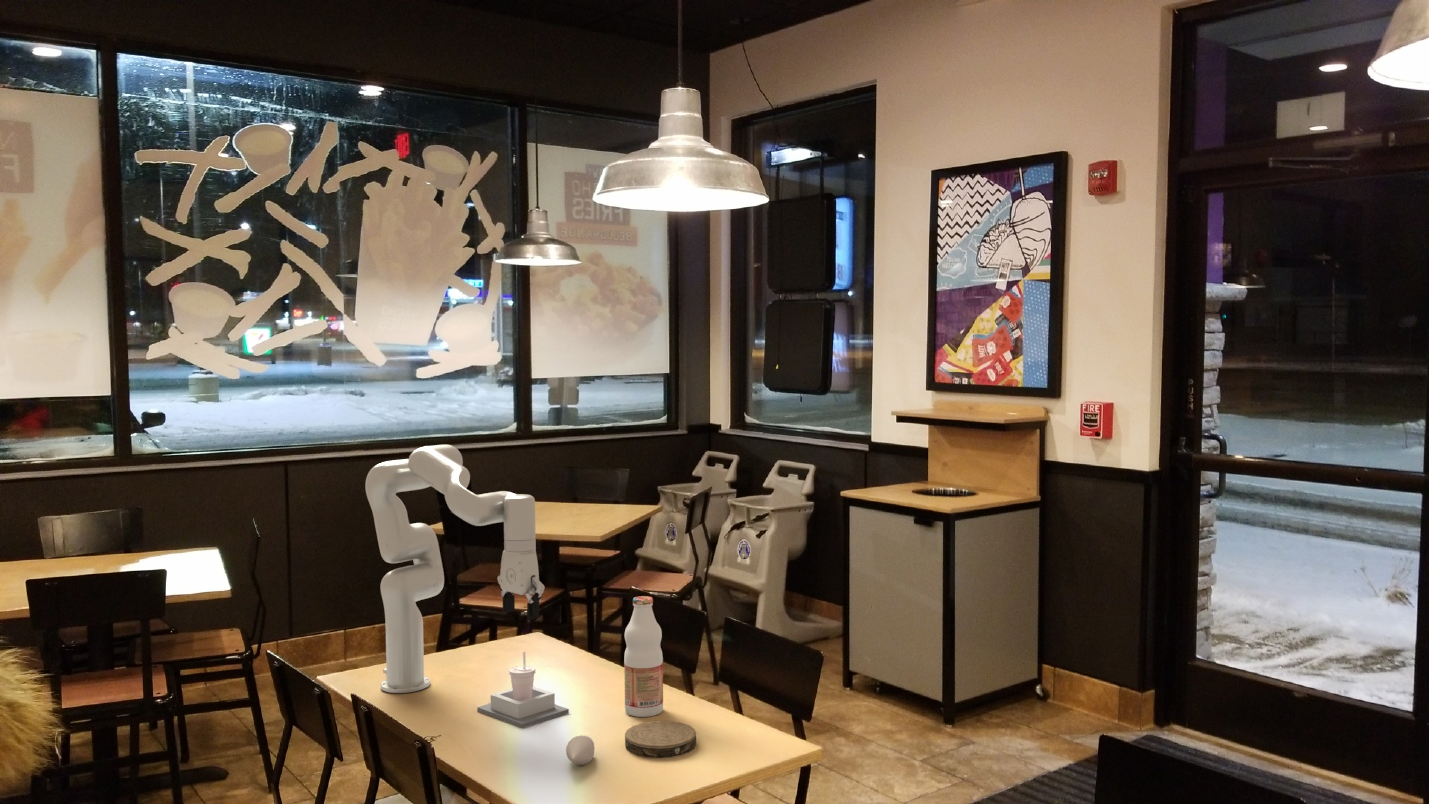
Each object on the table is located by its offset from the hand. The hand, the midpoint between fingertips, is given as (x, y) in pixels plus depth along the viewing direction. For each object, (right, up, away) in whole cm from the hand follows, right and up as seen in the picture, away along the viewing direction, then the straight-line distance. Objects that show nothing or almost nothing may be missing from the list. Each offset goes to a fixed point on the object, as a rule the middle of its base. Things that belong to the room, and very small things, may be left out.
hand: (520, 615), depth 261 cm
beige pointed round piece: (+19, -26, -34) cm, 46 cm away
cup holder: (0, -24, +1) cm, 24 cm away
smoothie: (0, -23, +1) cm, 23 cm away
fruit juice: (+30, -24, +1) cm, 38 cm away
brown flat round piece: (+35, -25, -22) cm, 48 cm away
